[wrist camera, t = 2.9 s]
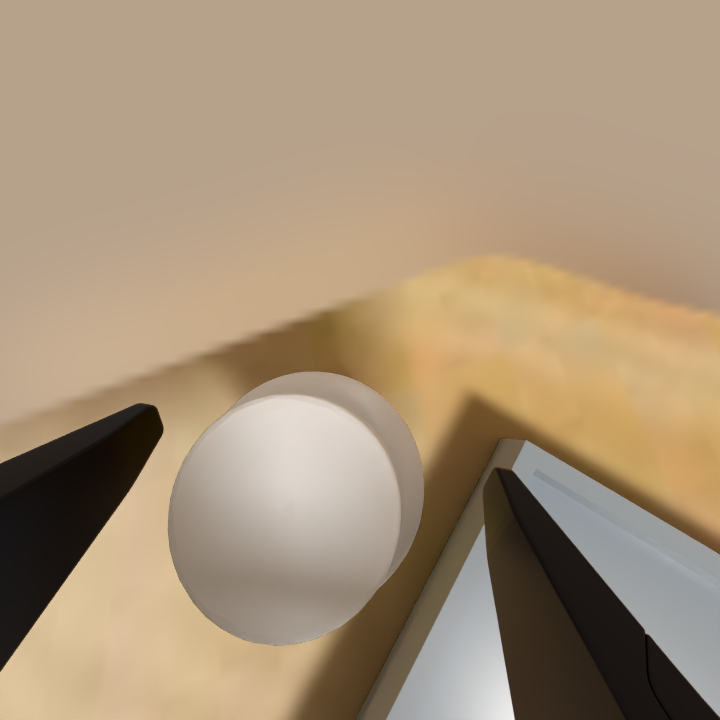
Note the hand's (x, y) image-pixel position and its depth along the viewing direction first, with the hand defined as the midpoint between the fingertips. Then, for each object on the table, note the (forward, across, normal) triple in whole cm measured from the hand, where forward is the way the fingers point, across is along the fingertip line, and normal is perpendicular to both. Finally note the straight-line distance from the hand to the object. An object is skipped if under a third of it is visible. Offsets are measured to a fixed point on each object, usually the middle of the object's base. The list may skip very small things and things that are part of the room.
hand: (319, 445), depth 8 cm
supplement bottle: (+5, 0, +6) cm, 7 cm away
